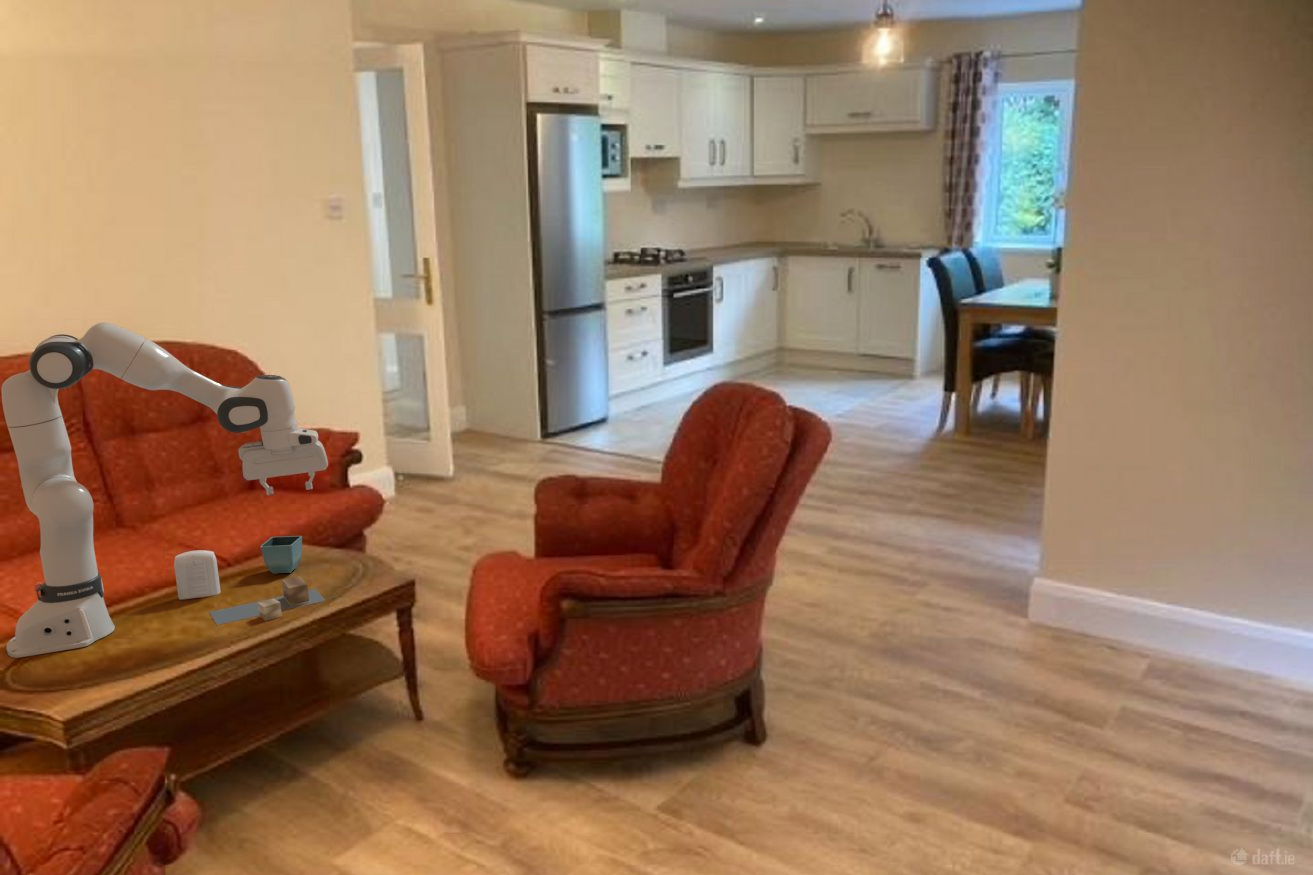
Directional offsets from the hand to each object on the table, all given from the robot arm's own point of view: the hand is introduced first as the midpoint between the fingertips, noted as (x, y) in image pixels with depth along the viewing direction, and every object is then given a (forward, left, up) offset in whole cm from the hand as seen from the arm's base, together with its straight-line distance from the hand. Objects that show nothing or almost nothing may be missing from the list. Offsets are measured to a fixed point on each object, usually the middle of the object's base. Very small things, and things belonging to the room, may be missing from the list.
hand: (289, 491), depth 260 cm
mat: (-9, -2, -28) cm, 30 cm away
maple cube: (-10, -10, -28) cm, 32 cm away
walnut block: (-2, -2, -28) cm, 28 cm away
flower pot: (+1, +25, -28) cm, 38 cm away
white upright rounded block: (-22, +19, -28) cm, 40 cm away
